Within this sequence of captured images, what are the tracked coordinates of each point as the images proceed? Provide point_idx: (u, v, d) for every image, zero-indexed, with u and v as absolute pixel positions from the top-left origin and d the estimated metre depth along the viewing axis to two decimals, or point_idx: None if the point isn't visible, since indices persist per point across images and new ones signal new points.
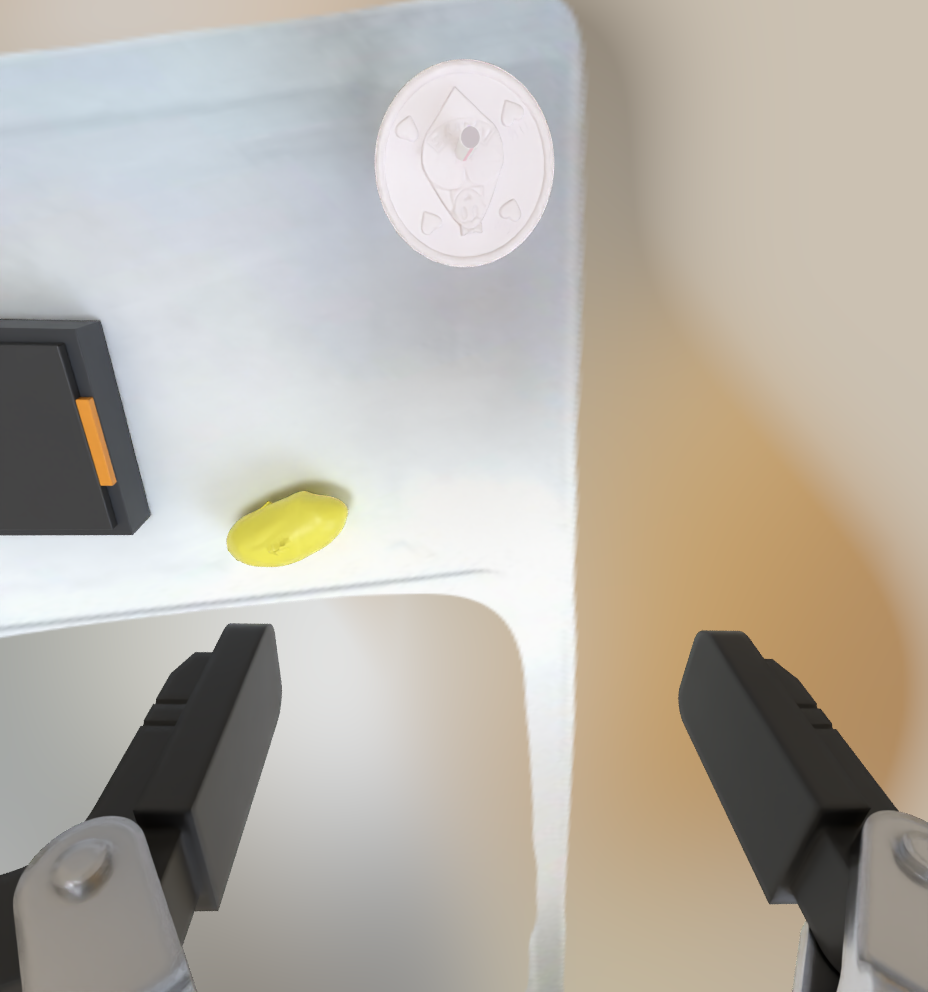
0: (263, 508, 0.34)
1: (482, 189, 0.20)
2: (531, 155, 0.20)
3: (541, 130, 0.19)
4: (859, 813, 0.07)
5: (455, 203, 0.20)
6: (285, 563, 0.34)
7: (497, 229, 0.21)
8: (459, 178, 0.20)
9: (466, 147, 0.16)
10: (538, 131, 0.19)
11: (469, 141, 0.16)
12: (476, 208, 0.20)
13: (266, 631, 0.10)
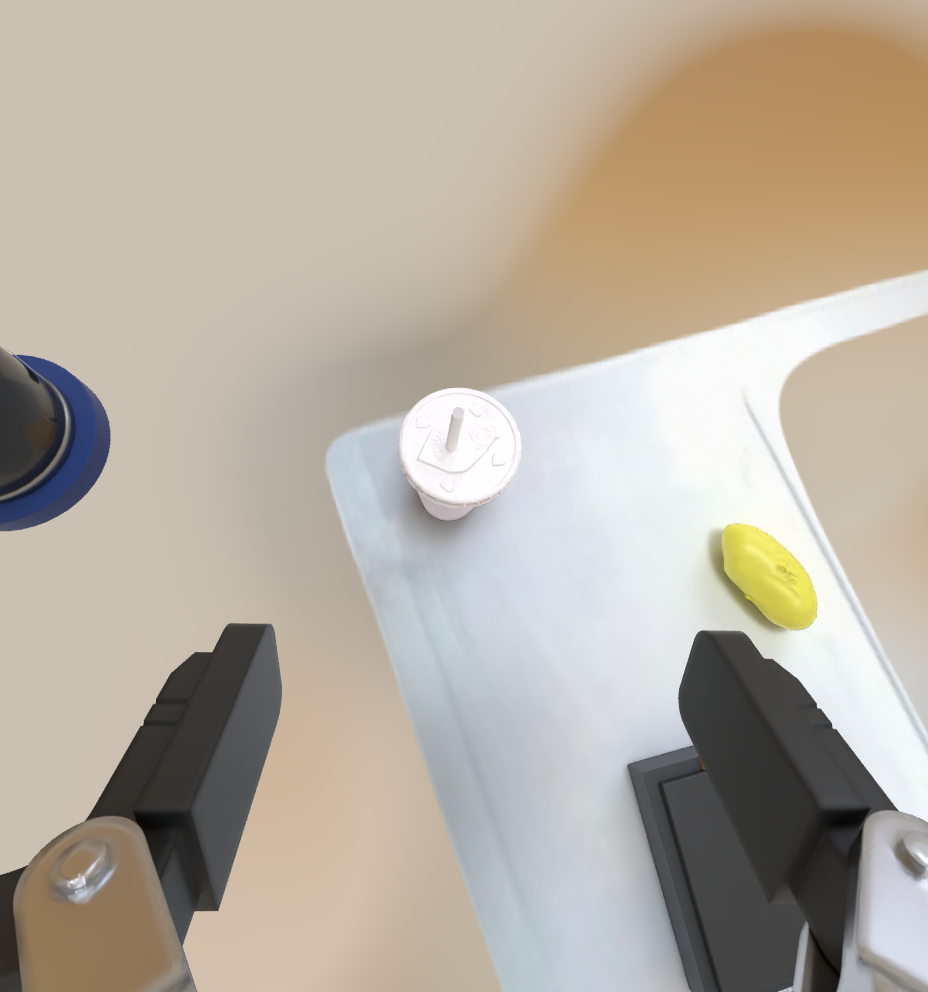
0: (754, 599, 0.36)
1: (469, 429, 0.29)
2: (441, 404, 0.29)
3: (426, 402, 0.29)
4: (859, 813, 0.07)
5: (482, 444, 0.29)
6: (802, 568, 0.36)
7: (489, 416, 0.29)
8: (467, 445, 0.28)
9: (464, 413, 0.24)
10: (427, 403, 0.29)
11: (460, 413, 0.24)
12: (481, 430, 0.29)
13: (266, 631, 0.10)
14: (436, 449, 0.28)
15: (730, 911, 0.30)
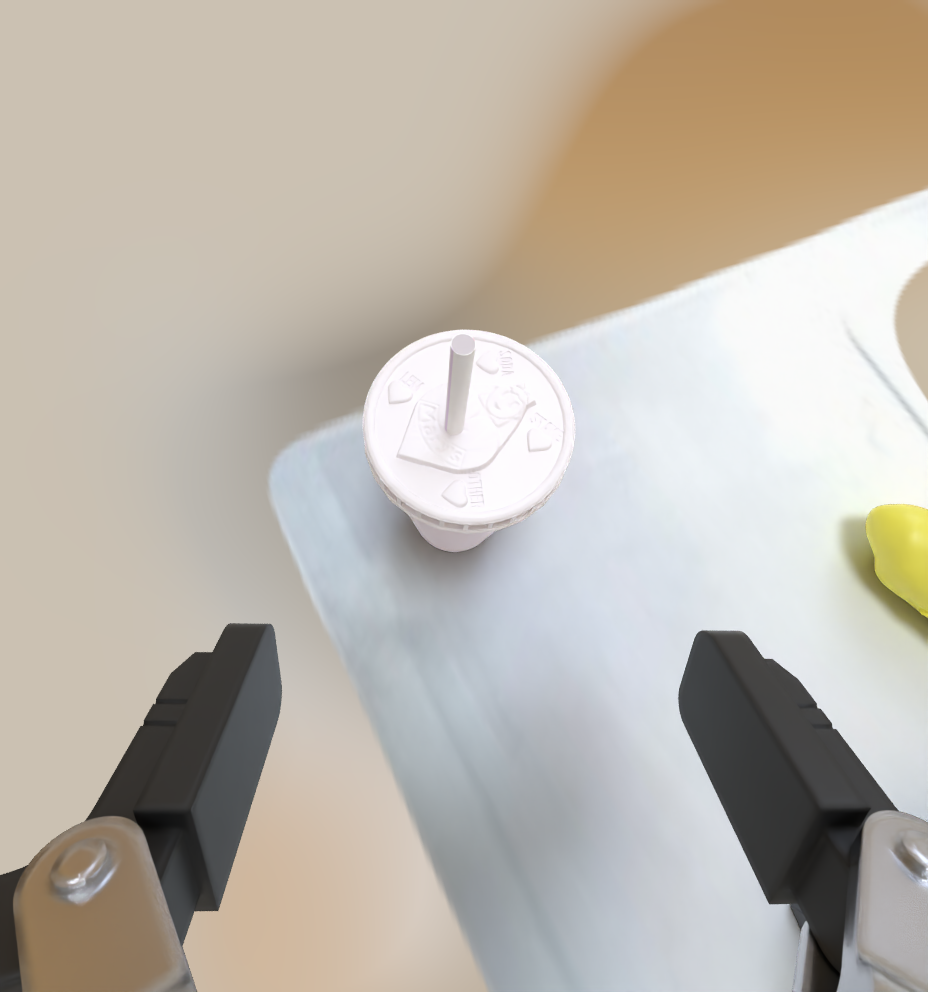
0: None
1: (481, 395, 0.17)
2: (428, 360, 0.17)
3: (402, 358, 0.17)
4: (860, 813, 0.07)
5: (507, 418, 0.16)
6: None
7: (513, 369, 0.17)
8: (481, 421, 0.16)
9: (475, 345, 0.12)
10: (404, 361, 0.17)
11: (467, 346, 0.12)
12: (502, 394, 0.17)
13: (266, 631, 0.10)
14: (429, 434, 0.16)
15: None
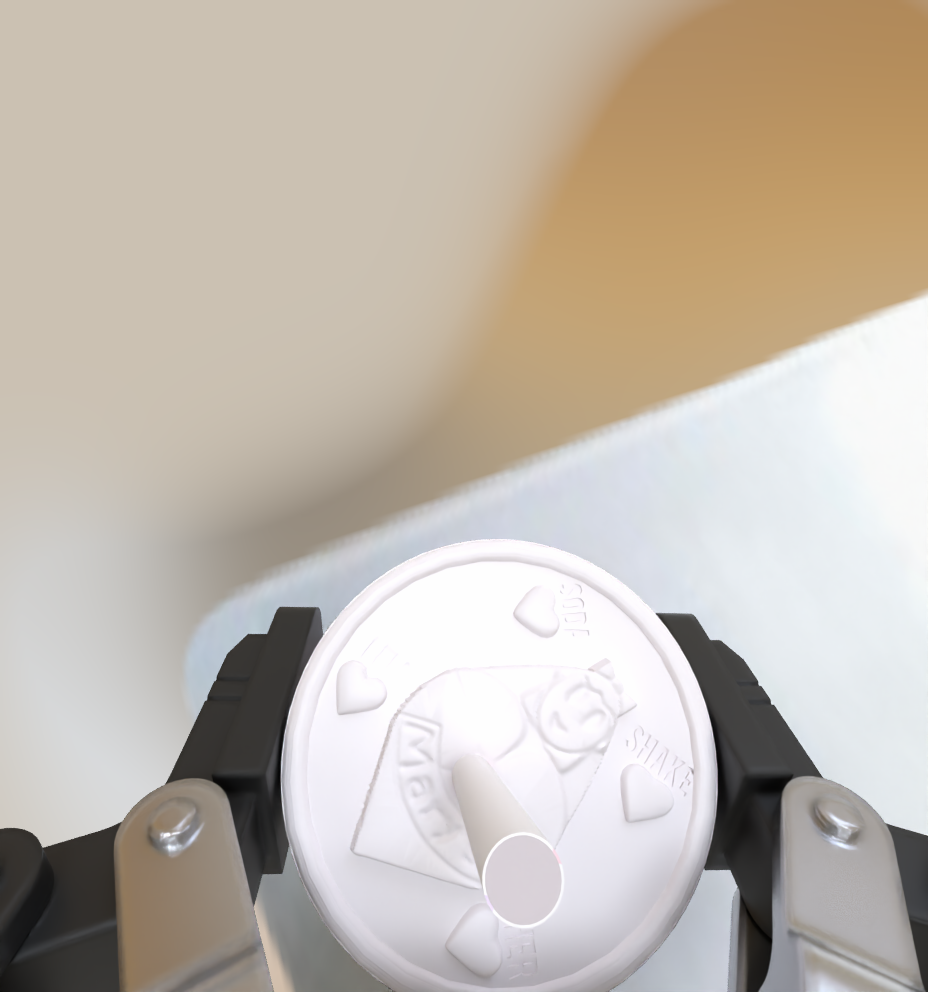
0: None
1: (527, 695, 0.08)
2: (419, 610, 0.09)
3: (367, 608, 0.08)
4: (783, 780, 0.08)
5: (581, 749, 0.08)
6: None
7: (586, 626, 0.09)
8: (528, 761, 0.08)
9: (562, 880, 0.04)
10: (371, 614, 0.08)
11: (532, 869, 0.04)
12: (570, 693, 0.08)
13: (315, 614, 0.10)
14: (419, 800, 0.08)
15: None
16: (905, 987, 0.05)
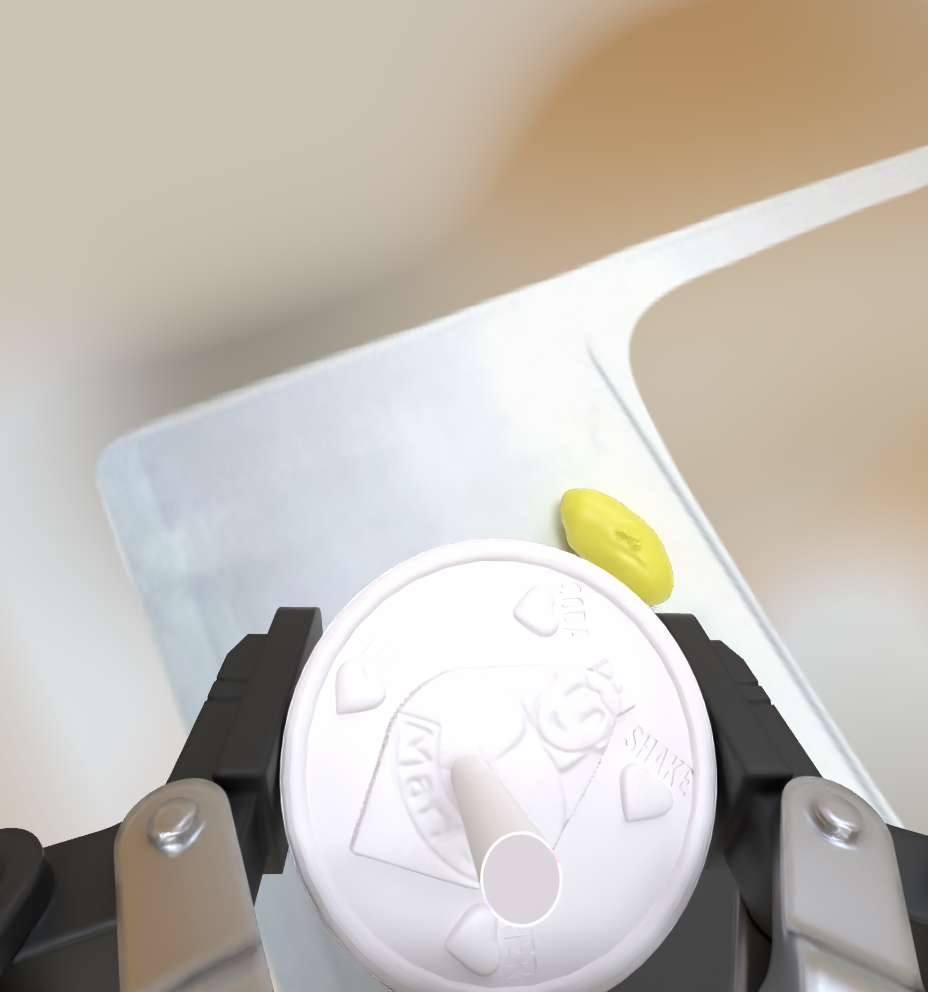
0: None
1: (526, 694, 0.08)
2: (418, 610, 0.09)
3: (366, 608, 0.08)
4: (783, 780, 0.08)
5: (580, 749, 0.08)
6: (651, 531, 0.30)
7: (585, 626, 0.09)
8: (527, 761, 0.08)
9: (560, 879, 0.04)
10: (370, 614, 0.09)
11: (532, 867, 0.04)
12: (569, 693, 0.08)
13: (315, 614, 0.10)
14: (418, 799, 0.08)
15: None
16: (905, 987, 0.05)
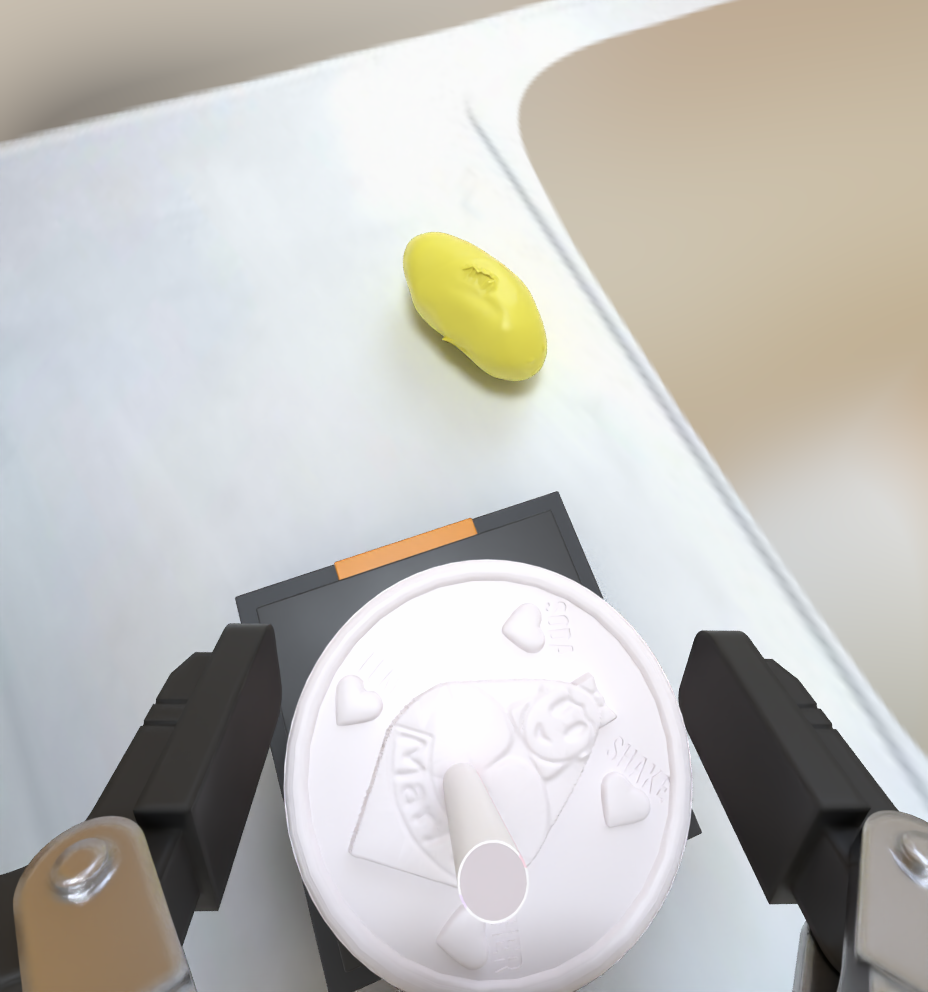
0: (449, 336, 0.23)
1: (513, 707, 0.09)
2: (413, 627, 0.09)
3: (364, 626, 0.09)
4: (860, 813, 0.07)
5: (564, 759, 0.09)
6: (515, 277, 0.23)
7: (570, 642, 0.09)
8: (514, 770, 0.08)
9: (527, 882, 0.04)
10: (368, 631, 0.09)
11: (501, 872, 0.04)
12: (554, 706, 0.09)
13: (266, 631, 0.10)
14: (412, 806, 0.08)
15: None
16: None
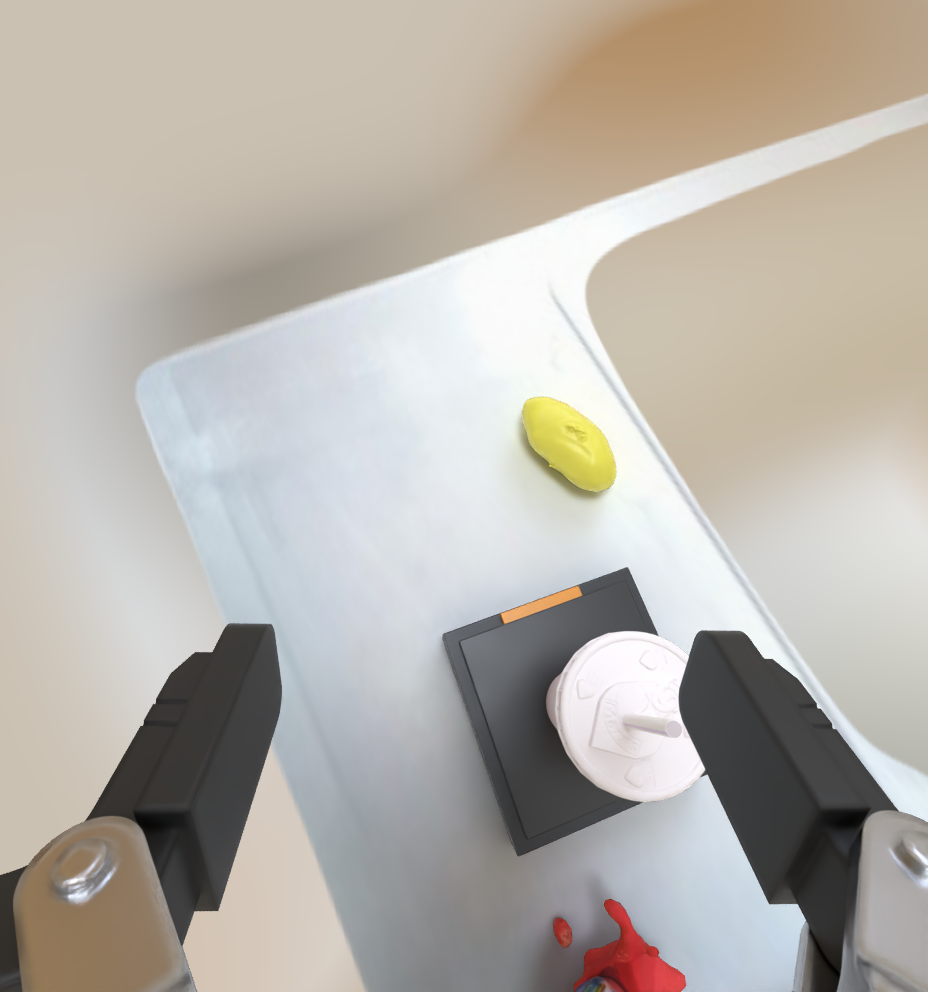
0: (554, 465, 0.37)
1: (647, 692, 0.22)
2: (603, 660, 0.23)
3: (585, 659, 0.23)
4: (860, 813, 0.07)
5: (668, 711, 0.22)
6: (596, 428, 0.37)
7: (667, 666, 0.23)
8: (649, 715, 0.22)
9: (682, 729, 0.18)
10: (586, 661, 0.23)
11: (675, 728, 0.18)
12: (663, 691, 0.22)
13: (266, 631, 0.10)
14: (612, 728, 0.22)
15: (530, 752, 0.30)
16: None
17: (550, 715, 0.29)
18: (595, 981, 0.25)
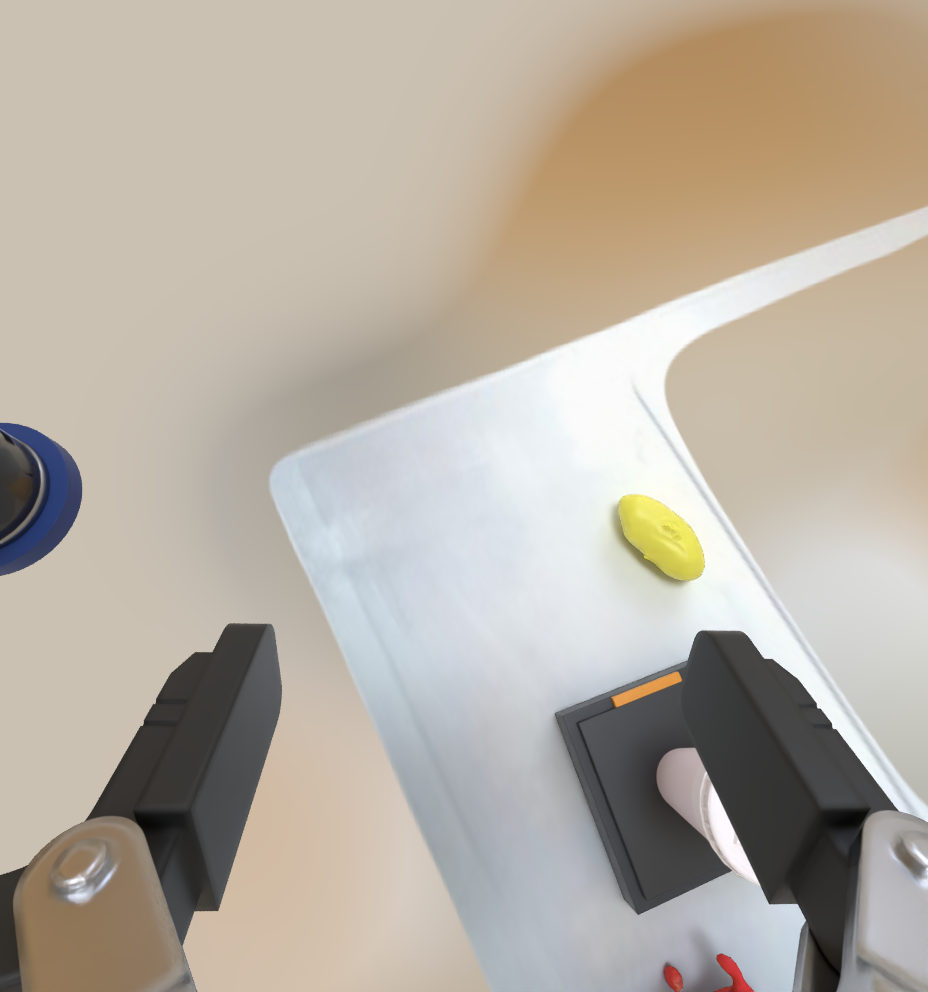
0: (649, 557, 0.41)
1: None
2: None
3: None
4: (860, 813, 0.07)
5: None
6: (687, 525, 0.41)
7: None
8: None
9: None
10: None
11: None
12: None
13: (266, 631, 0.10)
14: None
15: (645, 823, 0.35)
16: None
17: (667, 794, 0.34)
18: None
